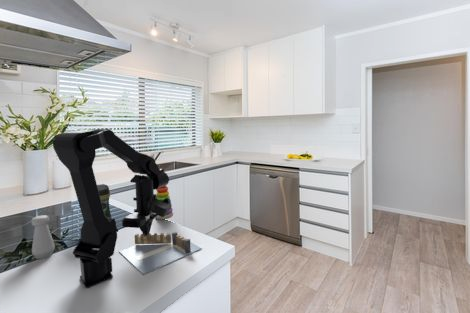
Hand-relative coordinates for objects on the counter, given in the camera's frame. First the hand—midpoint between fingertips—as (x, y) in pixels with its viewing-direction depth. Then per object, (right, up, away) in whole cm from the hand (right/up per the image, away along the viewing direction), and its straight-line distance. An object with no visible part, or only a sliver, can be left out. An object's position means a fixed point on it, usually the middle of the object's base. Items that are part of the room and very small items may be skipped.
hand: (146, 236), depth 85 cm
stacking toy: (-1, 0, +26) cm, 26 cm away
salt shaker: (-30, -4, -7) cm, 31 cm away
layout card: (+6, -3, -5) cm, 9 cm away
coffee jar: (-22, -2, +10) cm, 25 cm away
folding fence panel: (+3, -2, -1) cm, 4 cm away
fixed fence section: (+13, -3, -4) cm, 14 cm away
